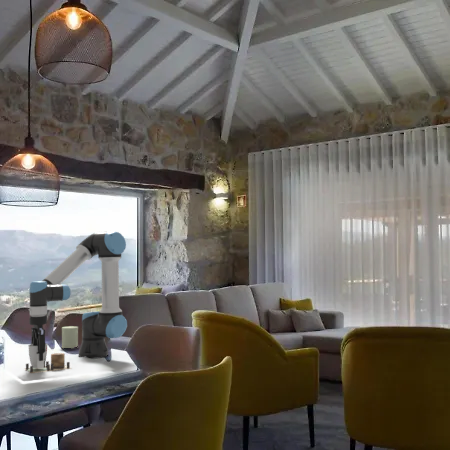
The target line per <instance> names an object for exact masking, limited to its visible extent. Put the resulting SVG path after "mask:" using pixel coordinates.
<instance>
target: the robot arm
mask: <svg viewBox="0 0 450 450" xmlns="http://www.w3.org/2000/svg"><path fill="white" fill-rule="evenodd" d="M126 243H127V241H126V239H125V237H124V236H123V235H122V233H121V232H119V231H111V230H110V231H97V232H94V233H92V234H90V235H88V236H87V237H86V238H84V239H83V240H82V241H81V242H79V243H78V244H77V246H76V248H75V250H74V251H73V252H72V253H71V254H70V255H68V257H66V258H65V259H64V260H63V261H62V262H61V263H60V264H59V265H57V266H56V267H55V268H54V270H52V271H51V272H50V273H49V274H48V275H47V276H46V277H44V279H43V280H39V281H37V280H35V281H31V282H30V284H29V290H28V292H29V308H28V311H29V323H28V324H29V325H31V326H32V327H31V339H30V340H31V342H30V344H33V346H38V352H37V353H36V354H37V368H44V352H45V351H46V350H45V343H46V329H44V328H43V325H46V324H48V323H47V322H48V316H47V314H48V302H60V301H61V302H63V301H68V299H70V297H71V288H70V286H69V285H68V284H63V282H65V281H66V280H67V279H68V278H69V277H70V276H71V275H72V274H73V273H74V272H75V271H77V269H79V268H80V267H81V266H82V265H83V264H85V262H86V261H88V260H89V261H90V260H91V259H92V258H94V257H95V256H97V255H98V257H97V258H98V260H100V262H101V309H100V310H99V311H89V312H84V313H83V314H82V316H81V330H82V331H81V344H80V346H79V350H78V358H84V357H85V358H87V359H98V358H99V359H100V358H105V357H107V355H108V356H109V350H108V346H107V343H106V338H109V339H117V338H120V337H122V336H123V335H124V334H125V332H126V330H127V328H128V320H127V319H126V317H125V316H124V315H123V310H122V309H121V308H120V285H119V284H120V280H119V279H120V275H119V273H120V272H119V271H120V270H119V263H120V260H121V259H122V254H123V253H124V252H125V250H126V248H127V244H126Z"/></svg>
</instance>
